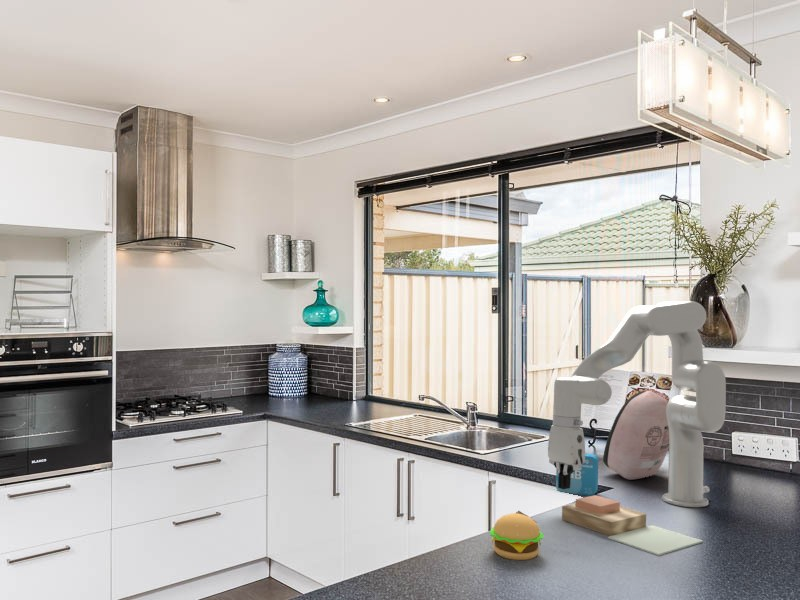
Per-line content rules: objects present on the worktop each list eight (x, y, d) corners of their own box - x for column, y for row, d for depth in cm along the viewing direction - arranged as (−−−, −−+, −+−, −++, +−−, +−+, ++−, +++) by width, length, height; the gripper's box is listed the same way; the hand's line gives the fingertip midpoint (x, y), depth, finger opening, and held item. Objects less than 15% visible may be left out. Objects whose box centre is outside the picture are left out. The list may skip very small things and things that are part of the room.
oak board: (596, 511, 191) (596, 499, 191) (646, 527, 178) (646, 513, 178) (561, 519, 183) (562, 506, 183) (611, 536, 170) (611, 522, 170)
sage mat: (652, 526, 179) (652, 525, 179) (702, 542, 167) (702, 540, 167) (608, 538, 168) (608, 536, 168) (658, 555, 157) (658, 553, 157)
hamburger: (511, 540, 165) (512, 504, 165) (553, 554, 156) (554, 516, 156) (478, 551, 157) (479, 513, 157) (521, 567, 148) (522, 526, 148)
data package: (555, 491, 212) (556, 452, 213) (558, 488, 216) (559, 450, 217) (595, 496, 207) (596, 457, 208) (597, 493, 211) (598, 454, 212)
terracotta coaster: (595, 502, 188) (595, 495, 188) (619, 509, 181) (619, 502, 181) (575, 506, 183) (575, 499, 183) (600, 514, 177) (600, 506, 177)
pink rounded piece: (634, 468, 247) (636, 385, 248) (683, 480, 231) (685, 391, 232) (594, 475, 235) (596, 387, 236) (643, 488, 219) (645, 394, 219)
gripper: (597, 425, 188) (594, 492, 187) (555, 417, 200) (552, 480, 199) (578, 427, 183) (576, 496, 183) (537, 418, 195) (534, 483, 195)
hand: (564, 488), depth 191 cm, fingers closed
